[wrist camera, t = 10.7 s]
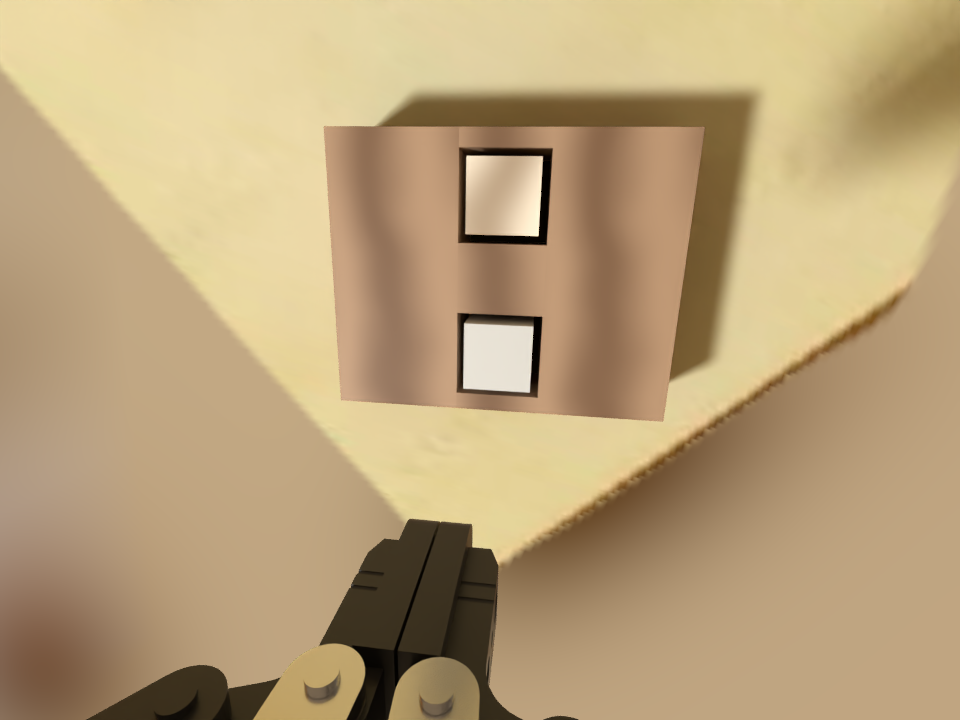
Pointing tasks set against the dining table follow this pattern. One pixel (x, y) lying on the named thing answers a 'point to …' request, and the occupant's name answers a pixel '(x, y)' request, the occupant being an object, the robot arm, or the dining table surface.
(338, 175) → the socket board
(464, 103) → the dining table surface
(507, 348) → the peg
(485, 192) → the peg
